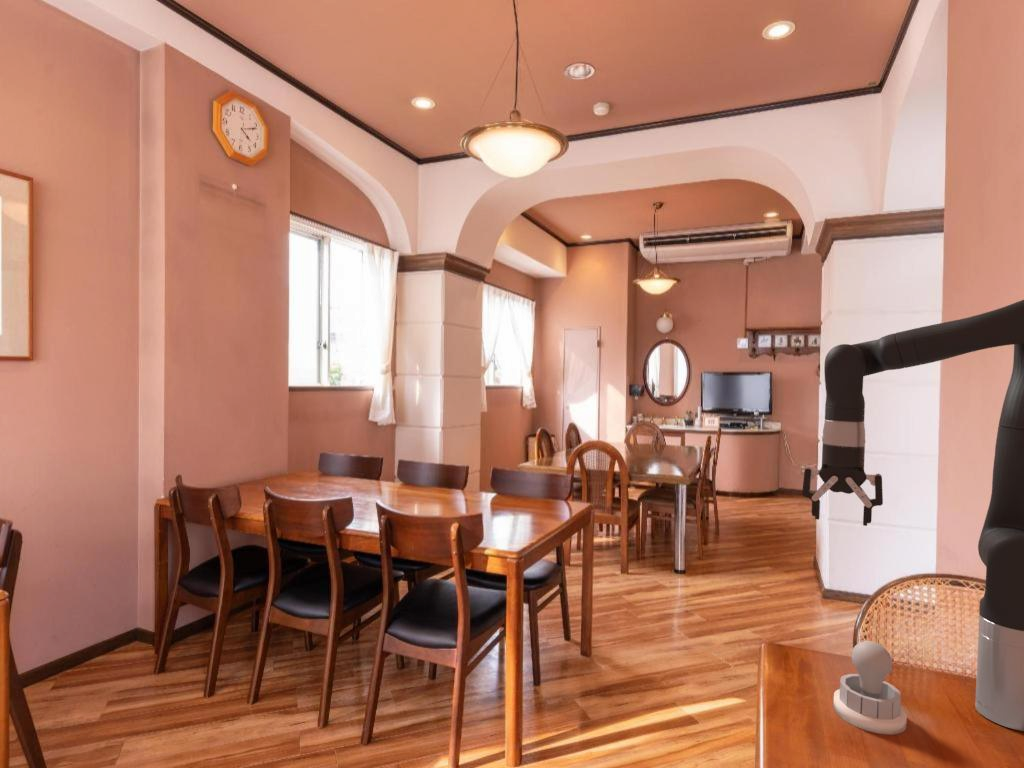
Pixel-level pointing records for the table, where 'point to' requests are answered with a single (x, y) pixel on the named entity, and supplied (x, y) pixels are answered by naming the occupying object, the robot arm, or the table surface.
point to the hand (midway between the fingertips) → (840, 521)
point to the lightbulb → (871, 666)
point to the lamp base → (870, 721)
